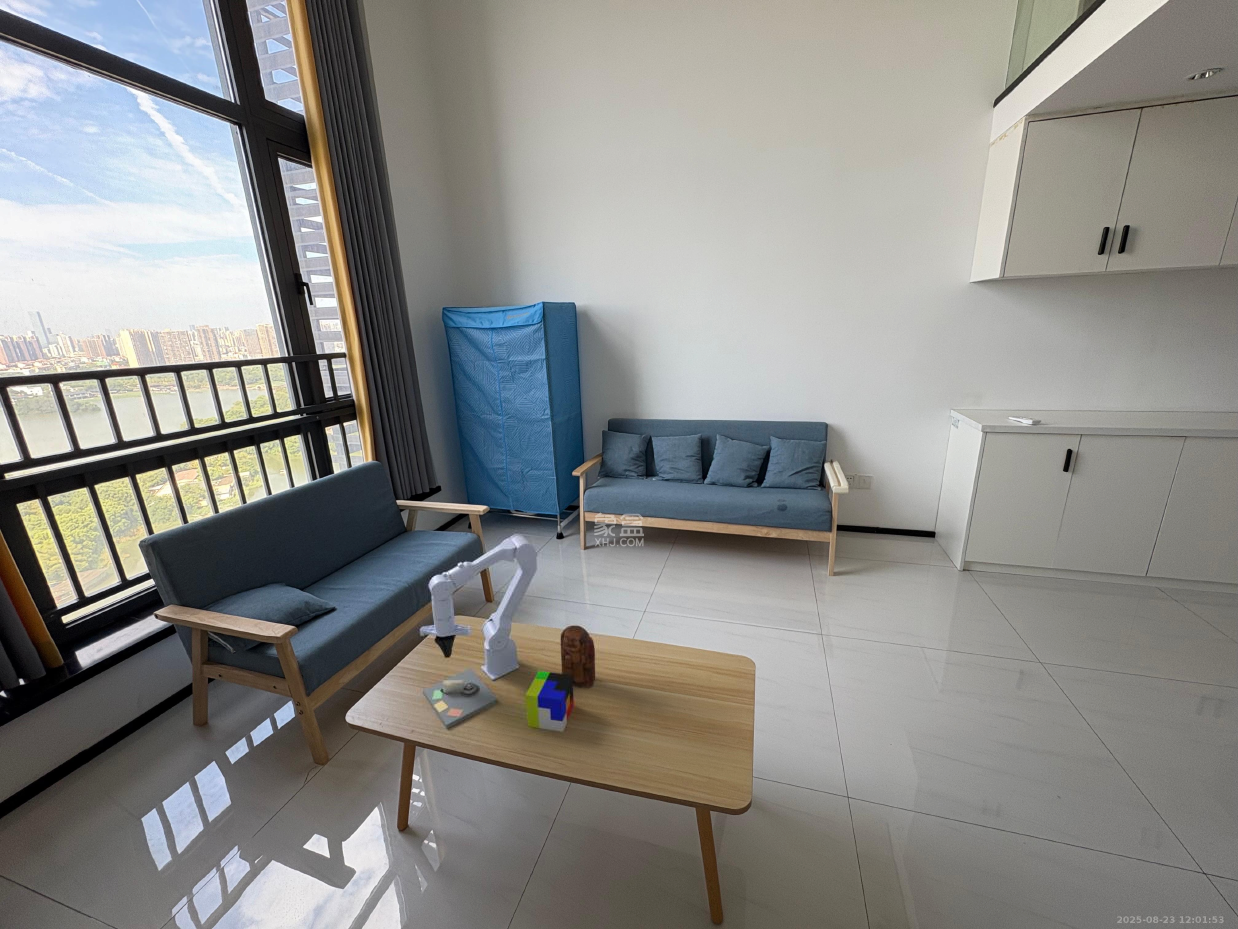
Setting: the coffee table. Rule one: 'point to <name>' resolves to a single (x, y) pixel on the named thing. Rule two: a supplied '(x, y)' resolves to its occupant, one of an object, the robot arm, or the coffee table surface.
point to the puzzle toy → (550, 701)
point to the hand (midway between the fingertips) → (448, 655)
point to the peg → (458, 687)
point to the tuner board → (459, 699)
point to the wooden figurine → (578, 656)
